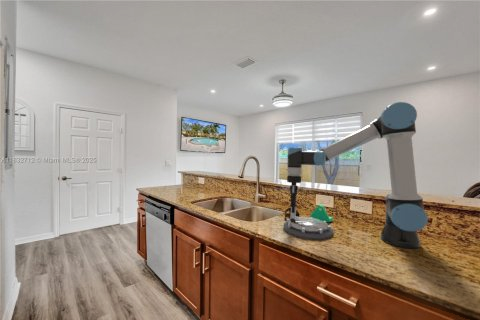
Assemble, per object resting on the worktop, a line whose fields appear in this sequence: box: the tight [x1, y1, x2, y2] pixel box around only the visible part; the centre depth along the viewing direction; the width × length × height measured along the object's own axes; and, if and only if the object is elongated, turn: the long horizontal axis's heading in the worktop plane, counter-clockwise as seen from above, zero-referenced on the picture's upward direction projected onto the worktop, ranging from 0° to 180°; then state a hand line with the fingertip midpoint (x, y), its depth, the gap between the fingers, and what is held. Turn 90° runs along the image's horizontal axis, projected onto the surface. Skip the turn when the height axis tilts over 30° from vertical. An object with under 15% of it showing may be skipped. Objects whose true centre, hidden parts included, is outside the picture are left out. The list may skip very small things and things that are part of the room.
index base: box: [283, 221, 334, 241], centre depth 113 cm, size 26×26×3 cm
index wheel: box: [286, 212, 331, 234], centre depth 113 cm, size 22×22×7 cm
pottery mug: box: [284, 207, 301, 219], centre depth 137 cm, size 12×10×8 cm
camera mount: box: [309, 204, 333, 223], centre depth 133 cm, size 12×8×10 cm, turn 50°
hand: (293, 218), depth 112 cm, fingers closed
